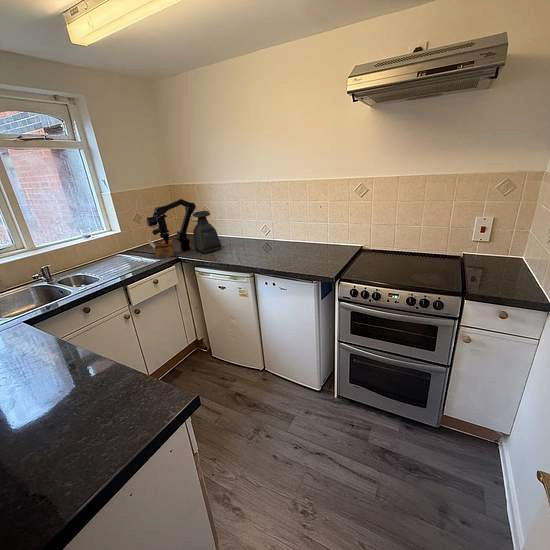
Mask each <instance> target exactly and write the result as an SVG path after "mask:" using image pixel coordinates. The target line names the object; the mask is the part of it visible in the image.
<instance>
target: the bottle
mask: <svg viewBox="0 0 550 550" xmlns="http://www.w3.org/2000/svg"><path fill="white" fill-rule="evenodd" d="M191 216H192V217H194V218H197V223H196V224H195V225H194V228H193V230H192V236H193V248H194V249H195V250H196V251H197V252H198V253H199V252H200V253H201V254H203V255H204V254H209V253H213V252H215V251H216V252H217V251H219V250H220V249H221V247H222V244H221V240H220V238H219V234H218V232H217V229H216V228H215V227H214V226H213V225H212V224H211V223H210V222H209V220H208V219H207V217H208V216H211V212H209V211H208V210H199V211H194V212H193V213H192V214H191Z"/></svg>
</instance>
